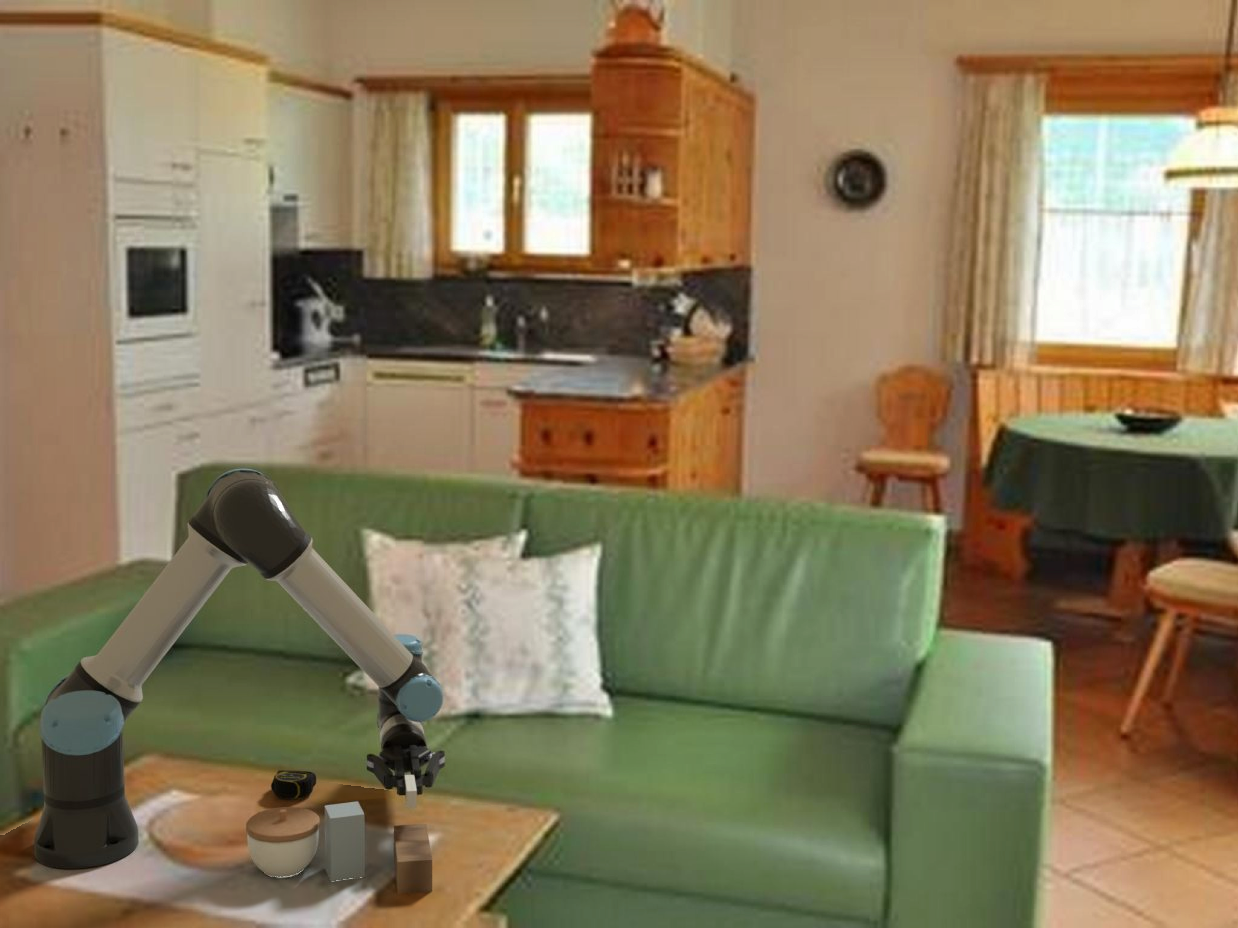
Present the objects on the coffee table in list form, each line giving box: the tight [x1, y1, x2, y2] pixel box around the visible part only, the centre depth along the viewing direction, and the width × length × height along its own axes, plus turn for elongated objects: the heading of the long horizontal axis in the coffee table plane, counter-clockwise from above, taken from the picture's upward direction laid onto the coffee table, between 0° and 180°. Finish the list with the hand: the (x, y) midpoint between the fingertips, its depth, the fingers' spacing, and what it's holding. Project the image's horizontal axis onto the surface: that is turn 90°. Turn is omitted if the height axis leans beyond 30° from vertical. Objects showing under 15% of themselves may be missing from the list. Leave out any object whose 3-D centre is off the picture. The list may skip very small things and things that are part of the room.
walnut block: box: [393, 823, 433, 895], centre depth 212 cm, size 5×5×13 cm
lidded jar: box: [245, 806, 321, 877], centre depth 212 cm, size 11×11×9 cm
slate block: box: [324, 800, 366, 882], centre depth 211 cm, size 5×5×10 cm
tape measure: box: [270, 769, 317, 800], centre depth 240 cm, size 7×7×4 cm
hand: (411, 799), depth 214 cm, fingers closed
